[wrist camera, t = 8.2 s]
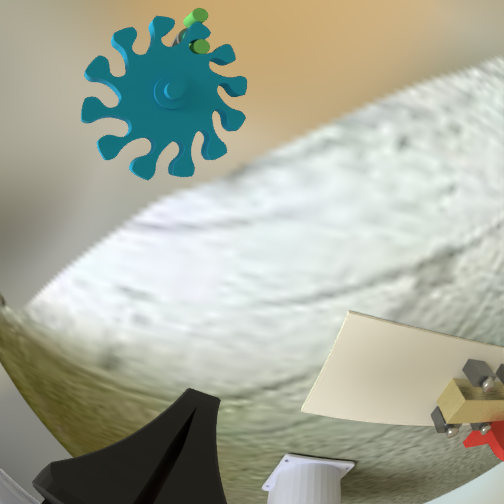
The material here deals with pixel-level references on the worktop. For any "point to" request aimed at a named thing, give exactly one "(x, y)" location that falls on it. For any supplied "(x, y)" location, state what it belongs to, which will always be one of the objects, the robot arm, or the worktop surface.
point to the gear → (166, 95)
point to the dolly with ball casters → (478, 377)
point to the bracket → (489, 439)
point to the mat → (391, 371)
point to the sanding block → (471, 403)
